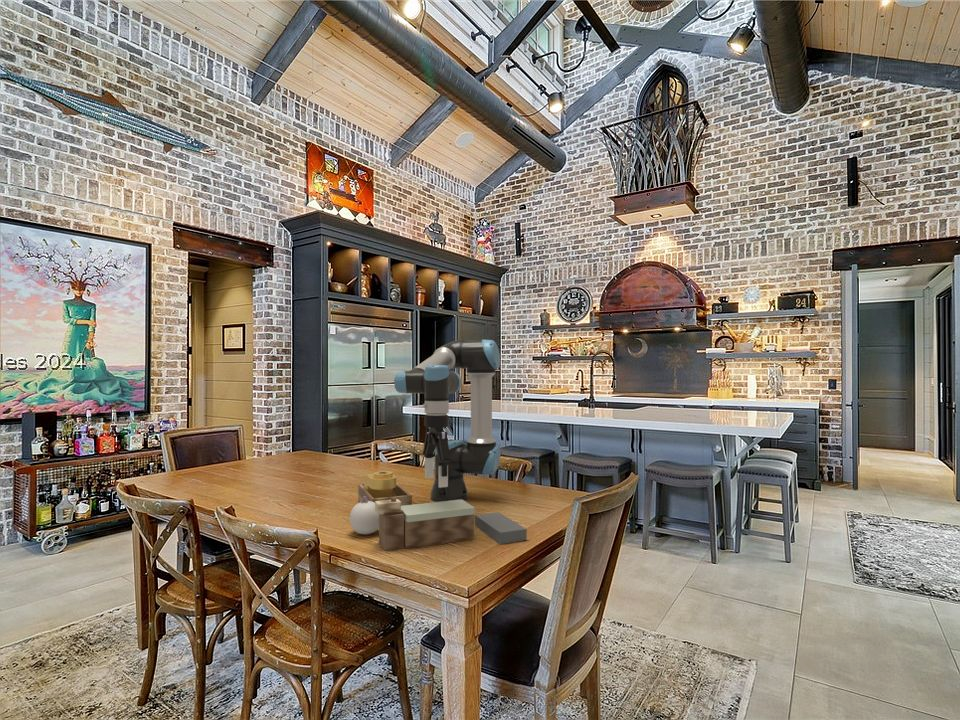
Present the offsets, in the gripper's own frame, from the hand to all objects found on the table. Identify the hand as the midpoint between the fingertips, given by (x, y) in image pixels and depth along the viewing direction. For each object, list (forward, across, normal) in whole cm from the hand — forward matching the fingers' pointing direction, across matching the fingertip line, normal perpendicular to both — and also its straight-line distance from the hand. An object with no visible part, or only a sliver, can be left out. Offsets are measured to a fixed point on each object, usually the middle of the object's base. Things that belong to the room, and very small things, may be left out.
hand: (436, 482), depth 159 cm
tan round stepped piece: (+18, -35, -10) cm, 40 cm away
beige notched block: (+8, 0, -15) cm, 17 cm away
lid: (+10, 0, 0) cm, 10 cm away
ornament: (+18, -14, -19) cm, 30 cm away
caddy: (+18, -33, -9) cm, 39 cm away
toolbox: (+18, 0, -3) cm, 18 cm away
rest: (+18, +2, +21) cm, 28 cm away
